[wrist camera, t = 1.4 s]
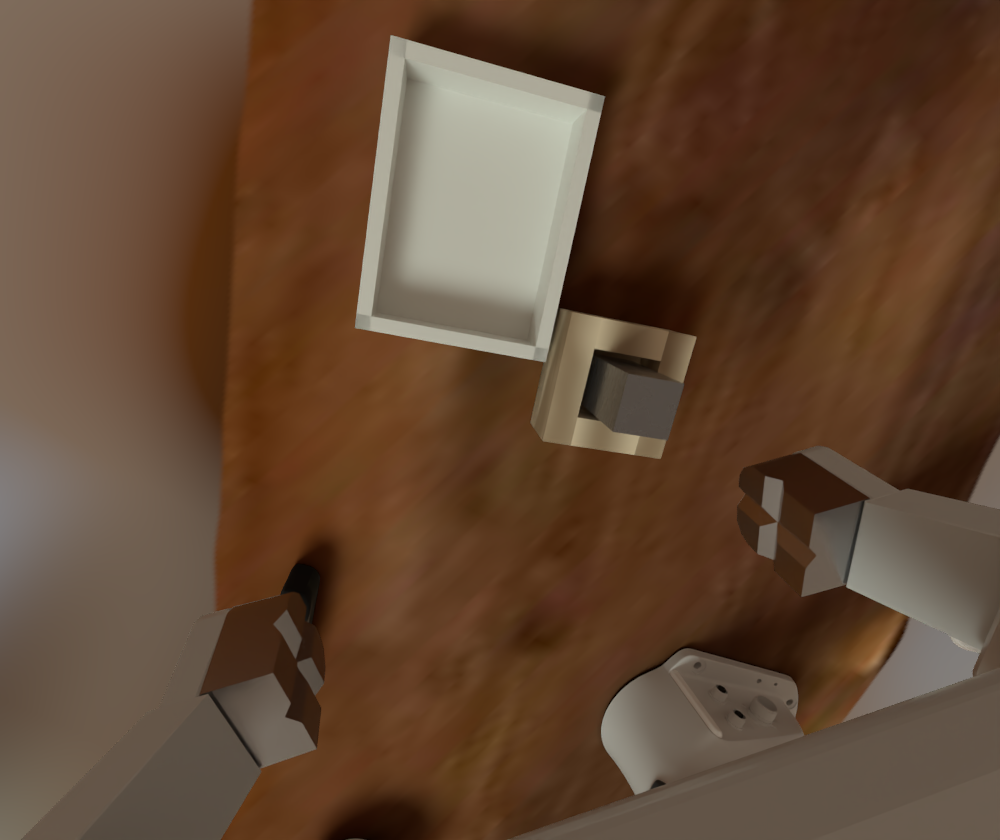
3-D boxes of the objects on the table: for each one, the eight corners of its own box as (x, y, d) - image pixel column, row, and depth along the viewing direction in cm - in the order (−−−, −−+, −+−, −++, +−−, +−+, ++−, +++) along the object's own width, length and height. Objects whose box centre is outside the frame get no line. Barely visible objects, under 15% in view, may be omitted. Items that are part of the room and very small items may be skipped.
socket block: (667, 329, 43) (696, 336, 38) (636, 439, 46) (660, 458, 41) (556, 307, 41) (572, 311, 37) (530, 422, 44) (542, 441, 39)
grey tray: (585, 116, 38) (604, 96, 33) (533, 352, 42) (545, 362, 38) (395, 63, 35) (390, 34, 31) (362, 321, 40) (355, 327, 35)
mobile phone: (274, 590, 40) (246, 742, 43) (313, 596, 41) (282, 745, 44) (290, 558, 45) (264, 697, 48) (325, 563, 46) (296, 700, 49)
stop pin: (632, 360, 42) (684, 383, 33) (620, 406, 43) (667, 440, 34) (587, 352, 41) (628, 373, 33) (575, 399, 42) (612, 431, 34)
